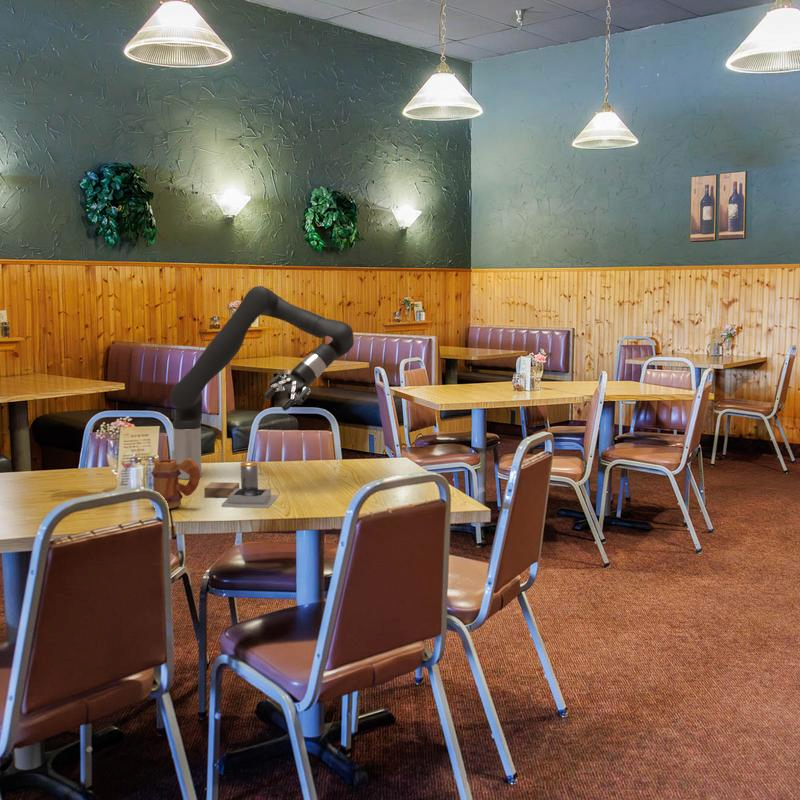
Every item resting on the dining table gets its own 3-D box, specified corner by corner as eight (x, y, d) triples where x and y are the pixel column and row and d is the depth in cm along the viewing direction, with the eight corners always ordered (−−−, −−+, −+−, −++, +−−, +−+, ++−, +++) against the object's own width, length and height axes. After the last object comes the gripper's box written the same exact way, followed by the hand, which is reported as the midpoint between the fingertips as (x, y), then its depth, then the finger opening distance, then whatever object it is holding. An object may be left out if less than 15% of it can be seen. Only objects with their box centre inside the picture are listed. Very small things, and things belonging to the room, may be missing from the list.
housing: (221, 506, 268) (221, 496, 268) (232, 496, 282) (232, 487, 282) (268, 507, 267) (268, 497, 267) (276, 497, 281) (276, 488, 281)
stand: (204, 497, 281) (204, 487, 281) (211, 491, 290) (211, 482, 290) (233, 497, 280) (232, 488, 280) (239, 491, 289) (239, 482, 289)
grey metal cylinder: (240, 501, 272) (239, 464, 271) (243, 497, 277) (242, 461, 276) (256, 500, 272) (255, 464, 271) (259, 497, 277) (258, 461, 276)
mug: (146, 510, 263) (145, 459, 261) (157, 504, 271) (156, 455, 269) (194, 512, 261) (193, 461, 259) (204, 506, 269) (203, 456, 267)
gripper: (290, 354, 294) (255, 387, 288) (320, 371, 286) (285, 405, 280) (297, 368, 300) (263, 401, 294) (327, 386, 292) (292, 419, 286)
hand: (274, 403), depth 287 cm, fingers open, 8 cm apart
